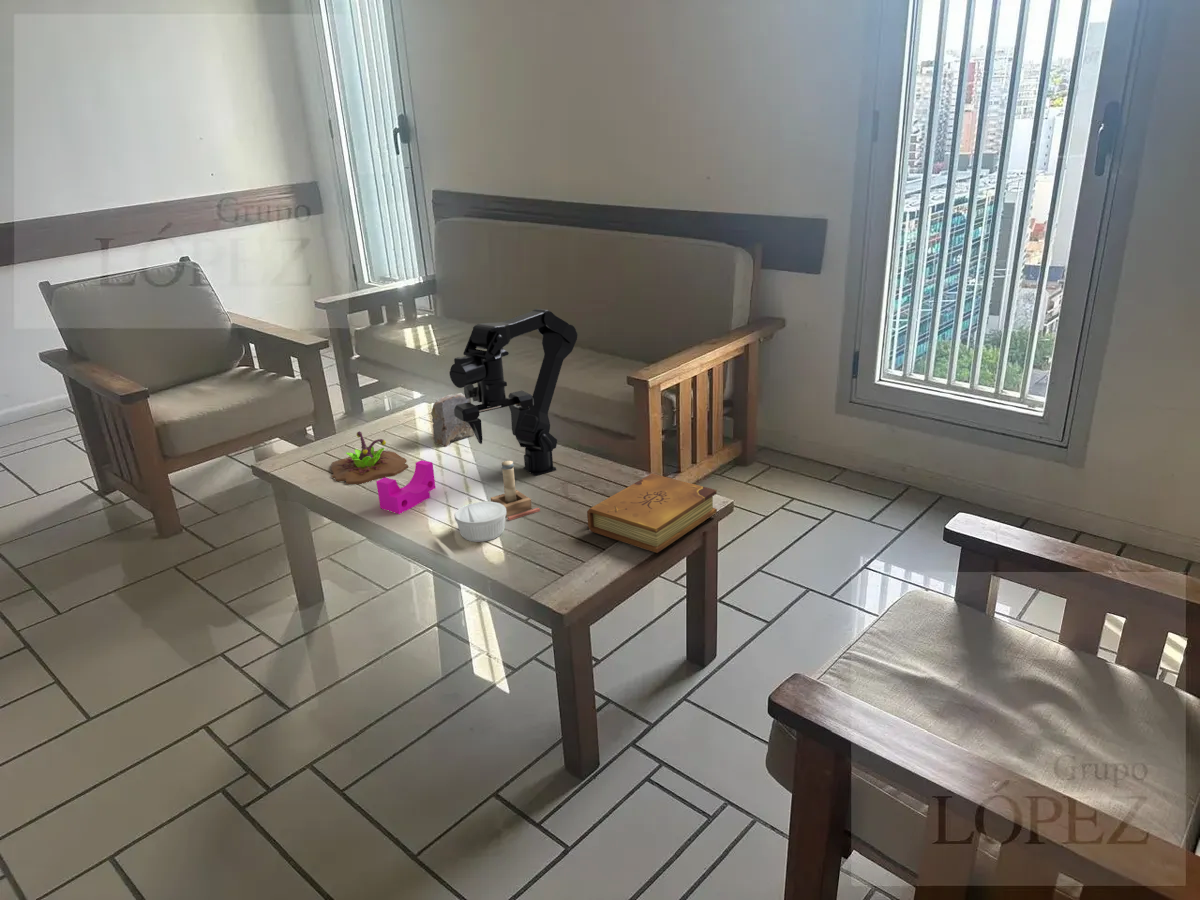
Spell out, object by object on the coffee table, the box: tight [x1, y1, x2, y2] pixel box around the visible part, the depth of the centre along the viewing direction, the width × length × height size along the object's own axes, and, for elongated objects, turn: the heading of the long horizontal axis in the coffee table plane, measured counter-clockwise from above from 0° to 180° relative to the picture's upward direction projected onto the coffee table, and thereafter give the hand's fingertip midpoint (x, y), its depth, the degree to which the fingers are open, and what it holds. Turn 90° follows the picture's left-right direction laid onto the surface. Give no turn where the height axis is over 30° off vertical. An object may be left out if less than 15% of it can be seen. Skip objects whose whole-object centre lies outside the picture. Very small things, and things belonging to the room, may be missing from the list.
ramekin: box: [454, 501, 506, 543], centre depth 186 cm, size 11×11×5 cm
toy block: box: [375, 459, 437, 515], centre depth 204 cm, size 15×6×8 cm, turn 147°
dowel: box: [501, 460, 517, 504], centre depth 196 cm, size 3×3×12 cm
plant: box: [330, 431, 409, 485], centre depth 223 cm, size 20×20×11 cm
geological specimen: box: [430, 392, 475, 447], centre depth 239 cm, size 11×6×15 cm, turn 138°
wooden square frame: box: [489, 489, 541, 521], centre depth 197 cm, size 8×9×2 cm
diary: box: [586, 473, 718, 554], centre depth 188 cm, size 23×19×6 cm
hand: (497, 439), depth 205 cm, fingers open, 9 cm apart
